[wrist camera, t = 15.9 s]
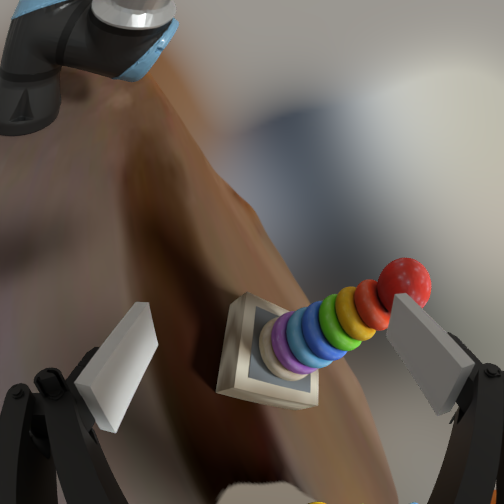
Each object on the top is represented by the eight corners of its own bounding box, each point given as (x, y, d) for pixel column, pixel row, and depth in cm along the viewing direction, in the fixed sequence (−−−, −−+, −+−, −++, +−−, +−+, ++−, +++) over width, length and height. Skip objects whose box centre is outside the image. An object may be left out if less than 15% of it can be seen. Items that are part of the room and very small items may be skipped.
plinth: (229, 304, 36) (247, 291, 33) (298, 333, 40) (317, 323, 38) (215, 392, 28) (234, 387, 25) (296, 410, 32) (318, 405, 29)
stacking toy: (294, 395, 28) (451, 334, 16) (244, 353, 28) (402, 263, 16) (314, 348, 34) (441, 279, 23) (272, 308, 34) (398, 219, 22)
